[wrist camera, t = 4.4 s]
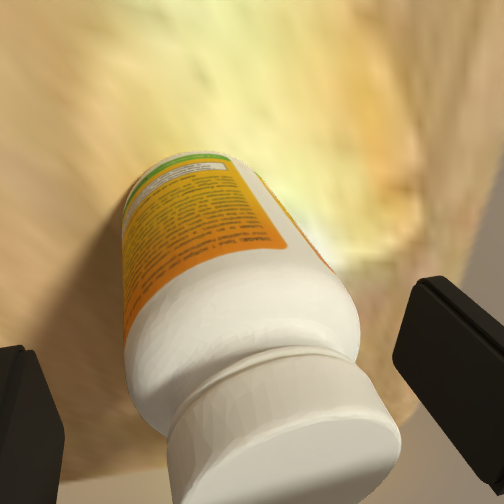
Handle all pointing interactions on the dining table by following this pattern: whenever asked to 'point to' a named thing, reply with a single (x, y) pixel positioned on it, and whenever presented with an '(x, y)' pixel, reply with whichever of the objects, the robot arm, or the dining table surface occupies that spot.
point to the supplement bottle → (244, 344)
